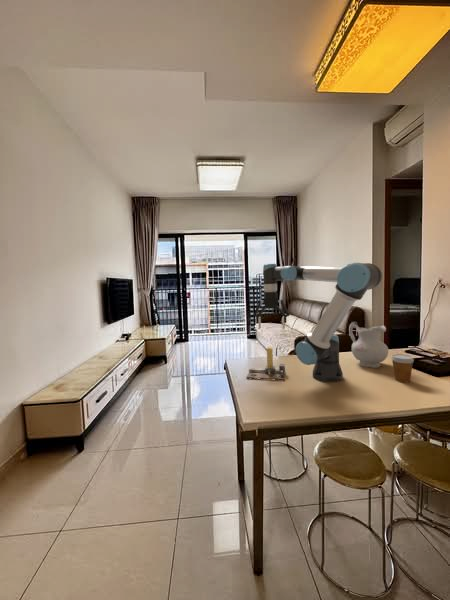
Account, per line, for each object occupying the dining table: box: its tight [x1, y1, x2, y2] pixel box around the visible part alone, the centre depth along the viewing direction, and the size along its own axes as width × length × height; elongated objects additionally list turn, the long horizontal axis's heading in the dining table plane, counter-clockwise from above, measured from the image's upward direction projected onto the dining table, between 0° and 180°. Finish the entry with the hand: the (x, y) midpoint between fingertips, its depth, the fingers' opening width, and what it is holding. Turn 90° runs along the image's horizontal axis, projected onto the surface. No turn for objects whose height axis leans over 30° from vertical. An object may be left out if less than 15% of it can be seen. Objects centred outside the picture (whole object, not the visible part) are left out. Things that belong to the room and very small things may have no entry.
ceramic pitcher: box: [348, 321, 389, 369], centre depth 158 cm, size 22×20×25 cm
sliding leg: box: [264, 346, 276, 376], centre depth 147 cm, size 5×9×14 cm, turn 165°
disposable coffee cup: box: [390, 353, 415, 383], centre depth 132 cm, size 10×10×12 cm
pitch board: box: [246, 363, 286, 381], centre depth 147 cm, size 20×12×6 cm, turn 75°
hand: (271, 328), depth 153 cm, fingers open, 13 cm apart
